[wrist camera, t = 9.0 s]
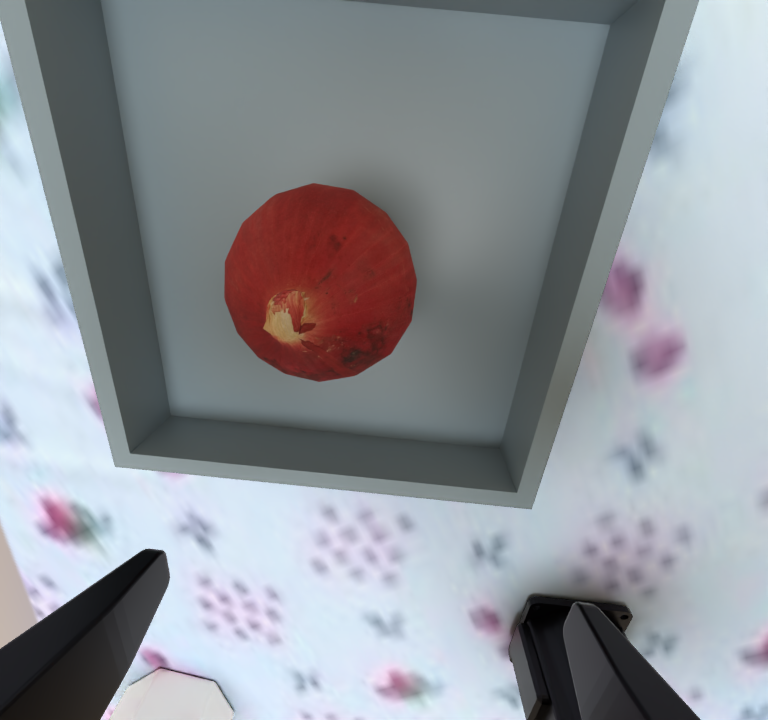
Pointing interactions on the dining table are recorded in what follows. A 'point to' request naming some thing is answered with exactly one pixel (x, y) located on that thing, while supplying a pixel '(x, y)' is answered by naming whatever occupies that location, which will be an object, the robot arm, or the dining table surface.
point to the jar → (172, 699)
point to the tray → (371, 180)
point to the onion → (320, 283)
